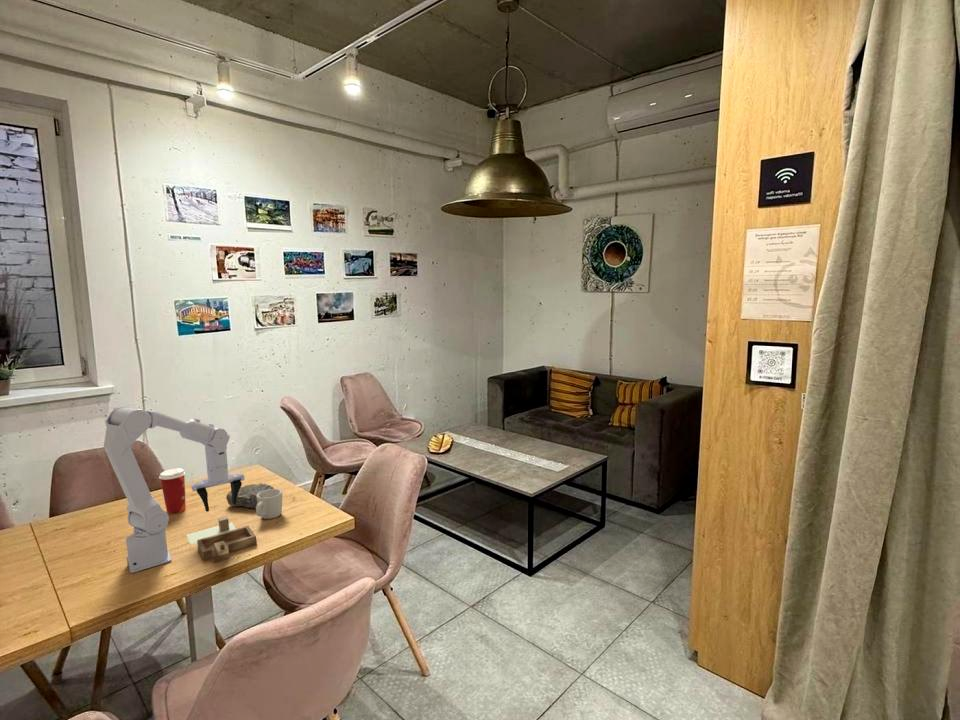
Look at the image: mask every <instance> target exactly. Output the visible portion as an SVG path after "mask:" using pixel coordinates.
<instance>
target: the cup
mask: <svg viewBox="0 0 960 720" xmlns="http://www.w3.org/2000/svg"><path fill="white" fill-rule="evenodd" d="M256 497H257V502H258V504H257V506H256V508H255V513H256V516H257V517H259V518H260V517H261V518H262V519H264V520H272V519H275V518H278V517H279V516H280V515H281V514H282V512H283V511H282V509H283V490H282V489H279V488H274V489H268V490H264V491H262V492H260V493H258V494H257V496H256Z"/></svg>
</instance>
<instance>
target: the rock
mask: <svg viewBox="0 0 960 720" xmlns="http://www.w3.org/2000/svg"><path fill="white" fill-rule="evenodd" d="M268 489H275V488H274V486H272V485H269V484H267V483H257V484H252V483H251V484H246V485H244V486H241V488H240V490H239V492H238V495H237V500H236V505H233V503H232V492H231V490H230V491H229V492H228V493H227V494H226V497H225V498H226V500H227V504H228V505H229V506H230V507H232V508H233V507H241V506H242V507H245V508H252V509H256V506H257V504H258V502H257V497H256V496H257V494H258V493H260V492H262V491H264V490H268Z"/></svg>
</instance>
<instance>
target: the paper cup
mask: <svg viewBox="0 0 960 720" xmlns="http://www.w3.org/2000/svg"><path fill="white" fill-rule="evenodd" d="M159 474H160V475H159V476H158V478H159V480H160V483H161V488H162V489H161V490H162V495H163V500H164V505H165V509H166V512H167V514H168V515H173V514H179V513H182V512H184V511H185V510H186V508H187V507H186V481H185V480H186V479H185V475H186V472H185V470H184V469H183V468H179V467H178V468H170V469H167V470H163V471H162V472H161V473H159Z"/></svg>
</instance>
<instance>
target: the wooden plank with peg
mask: <svg viewBox="0 0 960 720" xmlns="http://www.w3.org/2000/svg"><path fill="white" fill-rule="evenodd" d="M214 548H215V549H216V551H217V553H218V555H219V556H220V555H223V554H226V553H229V551H228V547H227V546H226V544H225V542H224V541H220V542H217V543H214ZM229 554H230V553H229Z"/></svg>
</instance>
